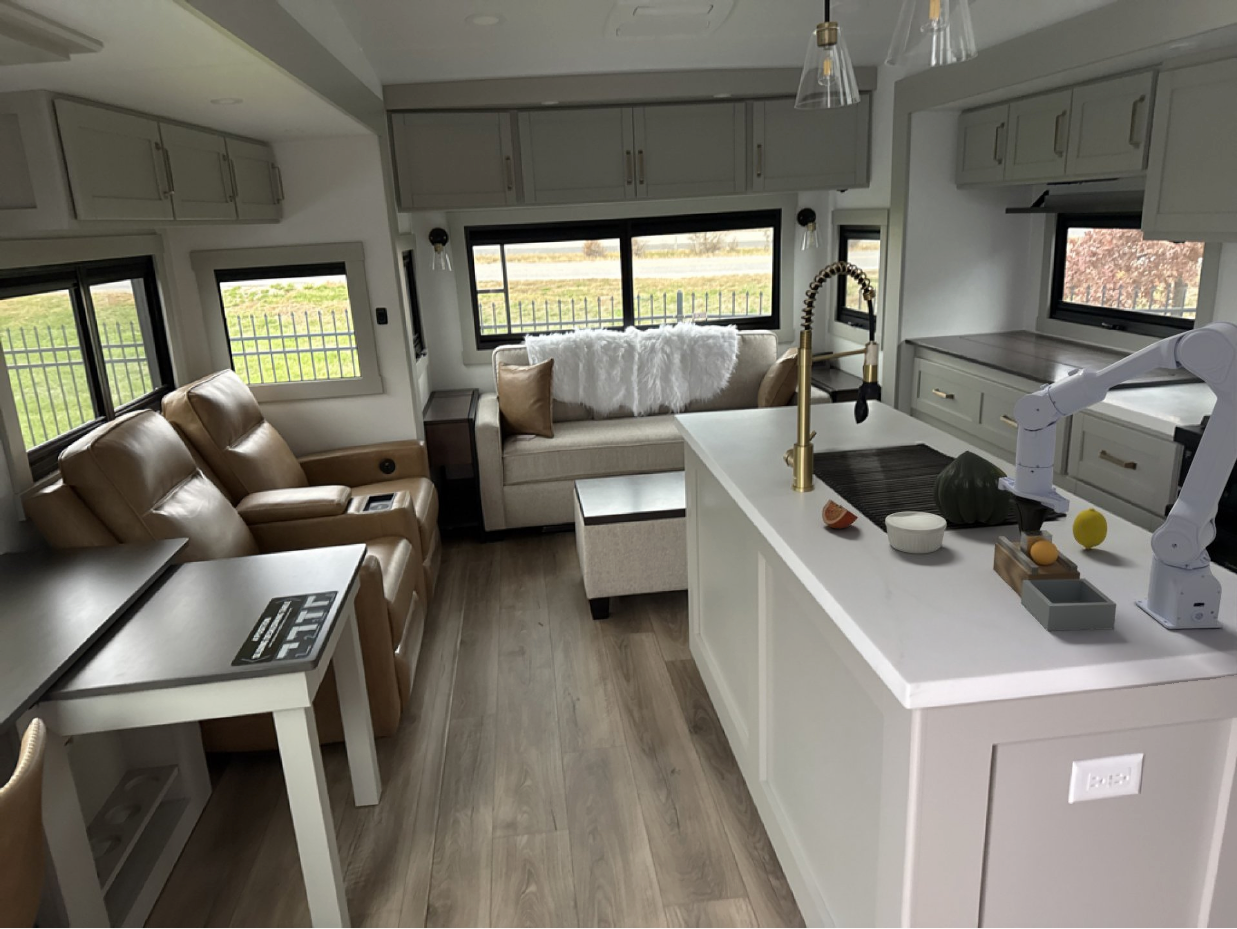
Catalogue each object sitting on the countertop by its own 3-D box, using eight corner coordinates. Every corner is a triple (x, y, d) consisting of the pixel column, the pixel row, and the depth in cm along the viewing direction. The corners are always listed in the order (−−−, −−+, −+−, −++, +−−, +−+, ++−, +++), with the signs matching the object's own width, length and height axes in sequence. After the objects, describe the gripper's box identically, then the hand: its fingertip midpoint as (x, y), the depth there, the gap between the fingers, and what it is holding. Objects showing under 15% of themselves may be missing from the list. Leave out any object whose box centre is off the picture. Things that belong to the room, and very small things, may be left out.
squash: (1007, 513, 158) (1013, 444, 164) (925, 508, 165) (933, 442, 171) (1011, 541, 169) (1016, 475, 175) (934, 535, 177) (941, 472, 182)
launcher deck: (1077, 601, 133) (1080, 565, 131) (1026, 603, 133) (1028, 567, 132) (1039, 567, 146) (1042, 535, 144) (993, 569, 147) (995, 536, 145)
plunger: (1050, 557, 137) (1052, 535, 136) (1025, 558, 137) (1027, 536, 136) (1044, 552, 140) (1046, 530, 138) (1019, 553, 140) (1021, 531, 139)
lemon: (1109, 555, 150) (1114, 513, 148) (1076, 554, 151) (1080, 513, 149) (1099, 544, 155) (1103, 503, 153) (1066, 543, 156) (1070, 503, 154)
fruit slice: (816, 522, 176) (816, 499, 174) (845, 518, 177) (845, 496, 176) (833, 535, 168) (833, 511, 166) (863, 531, 169) (864, 508, 168)
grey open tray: (1113, 628, 123) (1116, 604, 122) (1047, 630, 124) (1049, 606, 123) (1082, 601, 133) (1084, 578, 132) (1021, 603, 133) (1022, 580, 132)
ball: (1050, 560, 137) (1062, 567, 133) (1026, 560, 137) (1036, 568, 133) (1052, 536, 136) (1063, 543, 132) (1027, 537, 137) (1037, 544, 133)
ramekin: (918, 532, 167) (919, 507, 165) (958, 549, 157) (960, 523, 155) (872, 541, 163) (873, 516, 162) (911, 560, 153) (911, 533, 152)
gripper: (1088, 471, 131) (1081, 551, 135) (1025, 450, 145) (1019, 523, 148) (1050, 476, 130) (1043, 557, 133) (989, 455, 143) (985, 529, 147)
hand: (1028, 540), depth 141 cm, fingers closed
